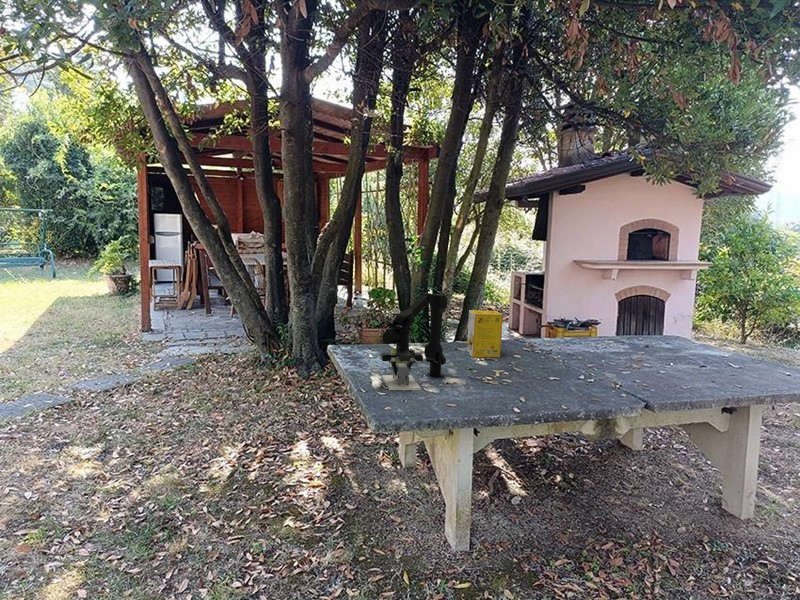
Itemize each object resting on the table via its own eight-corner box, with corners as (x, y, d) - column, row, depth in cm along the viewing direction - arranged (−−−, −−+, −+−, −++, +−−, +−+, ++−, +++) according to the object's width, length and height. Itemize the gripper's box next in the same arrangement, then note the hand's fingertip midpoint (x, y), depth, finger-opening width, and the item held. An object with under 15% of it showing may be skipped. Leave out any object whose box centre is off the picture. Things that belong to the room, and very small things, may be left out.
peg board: (381, 377, 251) (382, 367, 251) (410, 376, 254) (410, 367, 253) (389, 390, 230) (390, 380, 229) (421, 390, 232) (421, 380, 232)
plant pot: (386, 367, 271) (387, 350, 270) (401, 365, 277) (402, 348, 275) (397, 371, 263) (398, 354, 262) (412, 369, 269) (413, 352, 268)
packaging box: (466, 351, 319) (469, 309, 316) (493, 351, 320) (496, 310, 317) (471, 357, 303) (474, 313, 300) (500, 358, 304) (502, 315, 301)
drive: (393, 375, 245) (394, 362, 245) (404, 375, 246) (405, 362, 246) (397, 381, 237) (398, 367, 236) (408, 381, 238) (409, 367, 237)
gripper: (385, 345, 230) (383, 380, 232) (426, 345, 233) (425, 380, 235) (381, 340, 241) (379, 373, 242) (421, 340, 244) (419, 373, 246)
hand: (401, 375), depth 241 cm, fingers closed on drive, 5 cm apart
